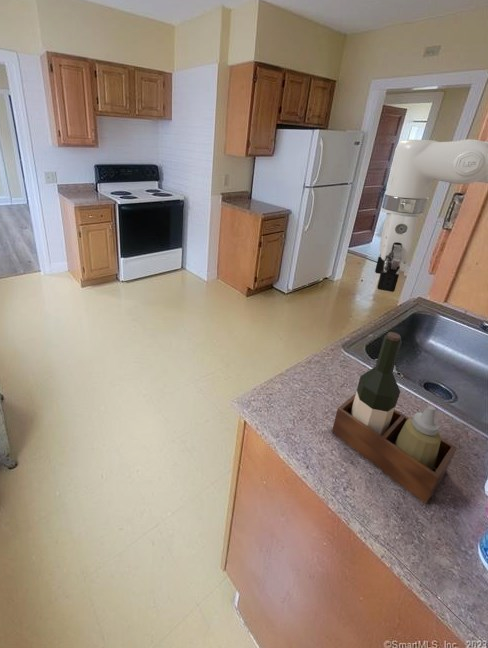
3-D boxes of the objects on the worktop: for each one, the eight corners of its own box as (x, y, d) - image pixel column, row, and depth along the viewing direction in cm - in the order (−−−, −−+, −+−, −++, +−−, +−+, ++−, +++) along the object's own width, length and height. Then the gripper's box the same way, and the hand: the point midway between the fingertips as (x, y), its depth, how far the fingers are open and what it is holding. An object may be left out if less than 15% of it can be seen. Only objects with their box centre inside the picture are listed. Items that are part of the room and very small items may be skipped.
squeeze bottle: (438, 486, 69) (466, 424, 62) (400, 485, 69) (424, 423, 62) (415, 452, 76) (438, 393, 70) (381, 451, 76) (401, 392, 70)
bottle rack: (445, 472, 72) (457, 447, 69) (426, 504, 65) (437, 477, 62) (354, 411, 87) (360, 388, 84) (331, 432, 81) (337, 408, 78)
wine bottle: (390, 448, 77) (426, 345, 66) (359, 453, 76) (390, 348, 64) (368, 420, 85) (397, 323, 73) (339, 424, 83) (364, 325, 72)
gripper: (433, 215, 56) (408, 301, 63) (417, 200, 71) (398, 271, 78) (386, 211, 59) (366, 293, 66) (380, 197, 74) (364, 265, 80)
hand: (383, 281), depth 72 cm, fingers open, 9 cm apart
